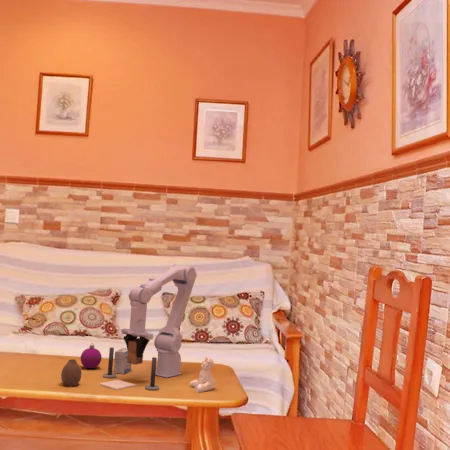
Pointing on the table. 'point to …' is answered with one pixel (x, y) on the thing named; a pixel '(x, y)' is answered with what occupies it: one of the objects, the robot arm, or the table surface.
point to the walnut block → (133, 353)
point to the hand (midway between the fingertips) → (135, 356)
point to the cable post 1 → (110, 365)
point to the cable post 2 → (152, 377)
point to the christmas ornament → (91, 357)
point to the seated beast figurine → (204, 377)
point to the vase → (71, 373)
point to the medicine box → (121, 361)
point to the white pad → (117, 384)
